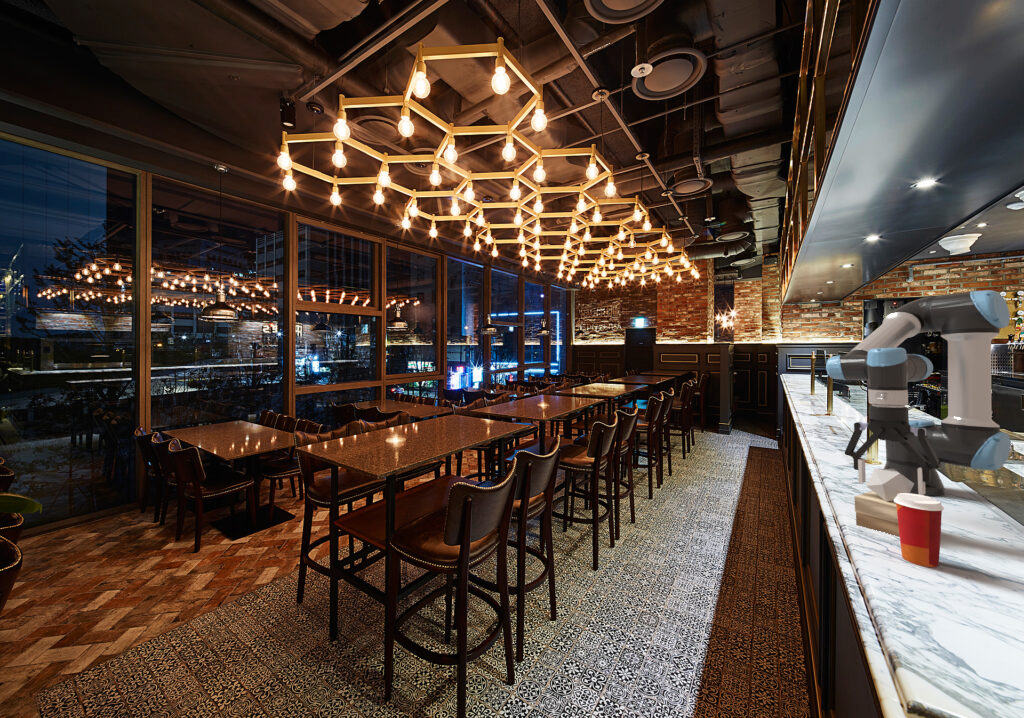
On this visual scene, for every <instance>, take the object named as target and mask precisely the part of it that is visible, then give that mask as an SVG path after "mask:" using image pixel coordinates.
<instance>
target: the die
mask: <svg viewBox="0 0 1024 718" xmlns="http://www.w3.org/2000/svg"><path fill="white" fill-rule="evenodd" d="M913 485H914V483H913V482H911V481H910V480H909V479H907V478H906V477H904V476H903V475H902V474H900V473H899V472H897V471H896V470H894V469H884V468H874V469H873V471H872V473H871V475H870V478H869V480H868V481H867V484H866V487H867V488H868V489H869V490H871V491H874V492H875V493H876V494H877V495H879V496H880V497H881V498H883V499H884V500H885V501H894V499H895V498H896V496H897V494H899V493H910V491H911V489H912V487H913ZM910 494H911V493H910Z"/></svg>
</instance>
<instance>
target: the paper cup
mask: <svg viewBox="0 0 1024 718" xmlns="http://www.w3.org/2000/svg"><path fill="white" fill-rule="evenodd" d="M894 502H895V503H896V508H897V517H898V527H899V535H900V537H899V543H900V544H899V545H900V550H901V558H902V559H903V560H905V561H906V562H908V563H911V564H913V565H916V566H919V567H925V568H934V569H935V568H938V567H939V565H940V564H939V563H940V552H941V550H940V549H941V535H942V531H941V530H942V512H943V511H944V510H945V507H944V506H943V505H942V502H941V501H939V500H938V499H935V498H933V497H930V496H929V495H918V494H911V493H899V494H897V496H896V498H895V499H894Z"/></svg>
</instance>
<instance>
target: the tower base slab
mask: <svg viewBox="0 0 1024 718" xmlns="http://www.w3.org/2000/svg"><path fill="white" fill-rule="evenodd" d="M855 524H856V526H859V527H861V526H862V528H865V527H866V528H865V529H869V530H872V529H873V530H872V531H876V530H877V531H876V532H879V531H881V532H880V533H883V532H885V533H884V534H887V533H888V534H887V535H890V534H891V536H894V535H895V536H894V537H897V538H900V535H899V527H898V523H894V522H891V521H887V520H884V519H880V518H877V517H873V516H870V515H866V514H862V513H859V512H855Z"/></svg>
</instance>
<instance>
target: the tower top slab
mask: <svg viewBox="0 0 1024 718" xmlns="http://www.w3.org/2000/svg"><path fill="white" fill-rule="evenodd" d="M854 512H855V513H856V512H859V513H862V514H866V515H870V516H873V517H877V518H880V519H884V520H887V521H891V522H894V523H898V517H897V508H896V503H895V502H894V501H885V500H884V499H883V498H881V497H880V496H879V495H877V494H876V493H875V492H874V491H872V490H871V491H868V492H865V493H861V494H859V495H856V496H854Z"/></svg>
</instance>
